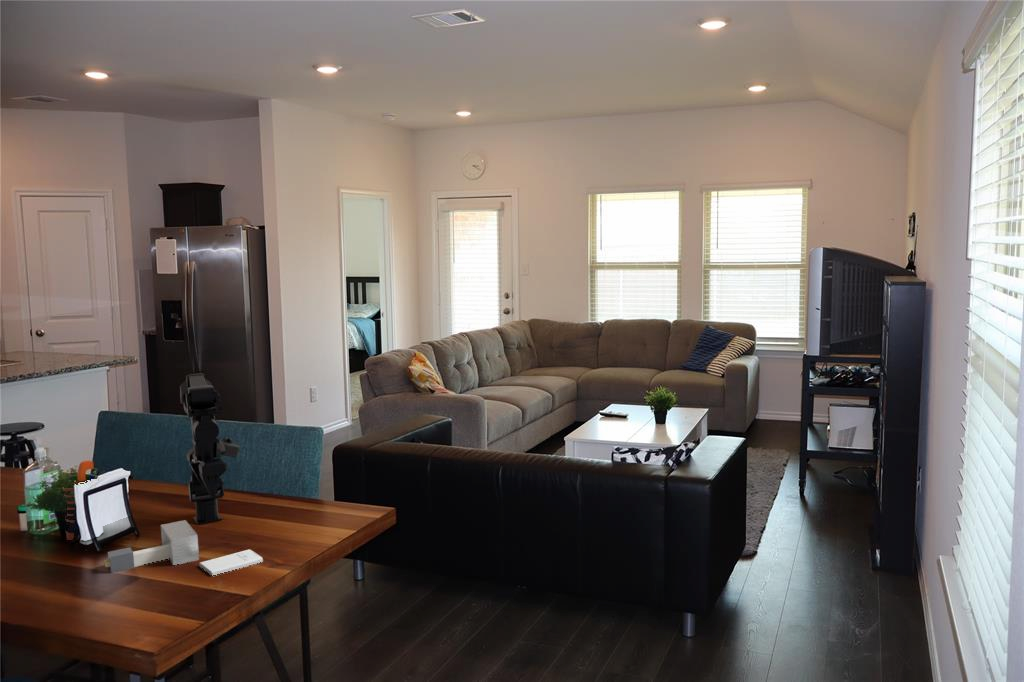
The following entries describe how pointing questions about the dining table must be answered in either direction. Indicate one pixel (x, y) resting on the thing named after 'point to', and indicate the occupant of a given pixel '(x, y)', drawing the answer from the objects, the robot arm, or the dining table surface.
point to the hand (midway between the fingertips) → (208, 492)
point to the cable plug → (135, 557)
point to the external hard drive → (231, 562)
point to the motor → (79, 478)
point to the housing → (180, 542)
